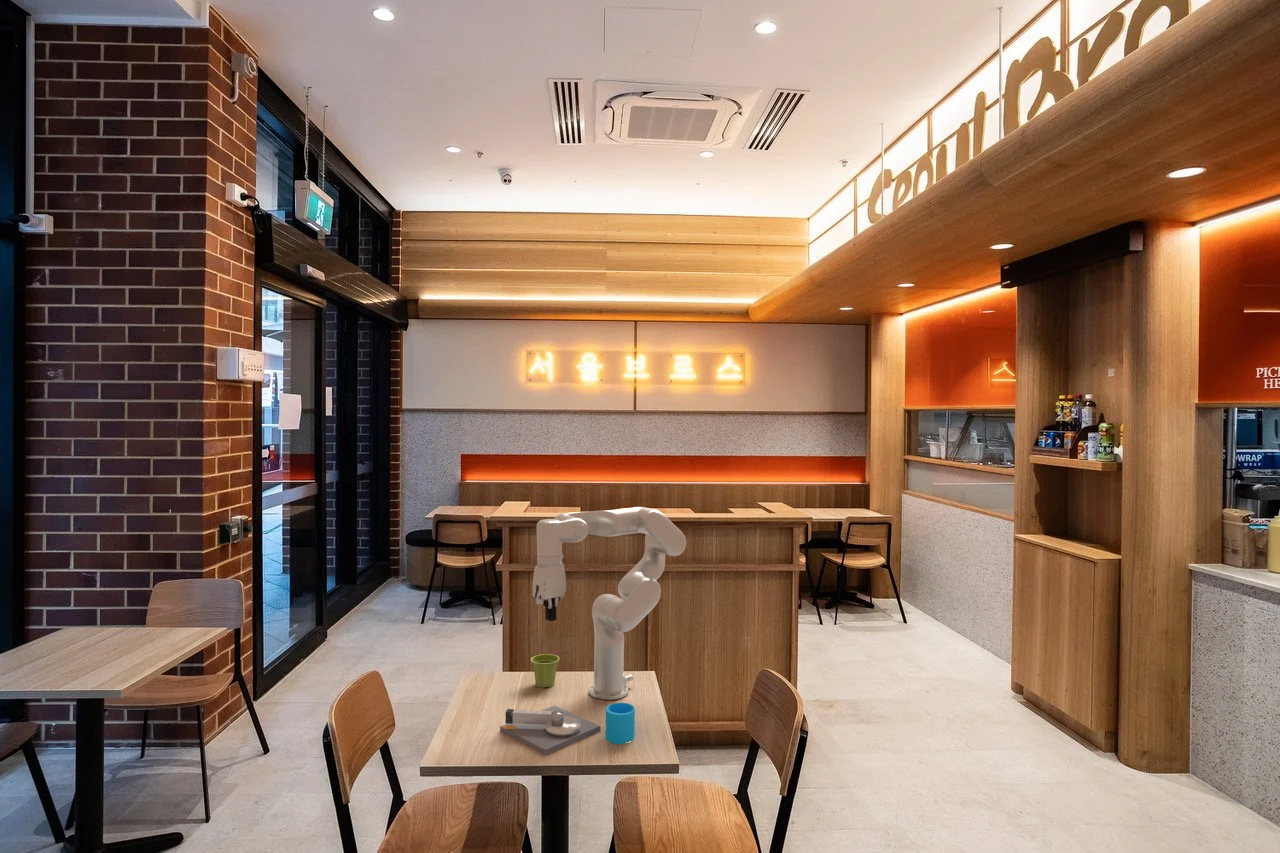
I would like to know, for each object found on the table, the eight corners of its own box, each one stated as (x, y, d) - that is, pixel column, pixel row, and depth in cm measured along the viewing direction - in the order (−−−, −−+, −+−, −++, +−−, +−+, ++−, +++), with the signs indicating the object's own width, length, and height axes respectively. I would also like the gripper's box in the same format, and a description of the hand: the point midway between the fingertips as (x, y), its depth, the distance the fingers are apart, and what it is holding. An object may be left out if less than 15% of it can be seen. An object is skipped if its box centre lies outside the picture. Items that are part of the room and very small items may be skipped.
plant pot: (524, 686, 232) (525, 660, 232) (541, 677, 240) (541, 652, 240) (548, 692, 227) (548, 665, 227) (564, 682, 236) (564, 656, 236)
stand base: (554, 710, 213) (554, 703, 213) (600, 731, 200) (600, 723, 200) (499, 731, 199) (499, 724, 199) (544, 755, 185) (544, 747, 185)
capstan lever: (510, 719, 203) (510, 703, 203) (582, 722, 202) (583, 706, 202) (501, 734, 193) (501, 718, 193) (577, 738, 192) (577, 721, 192)
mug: (634, 744, 192) (634, 715, 192) (604, 744, 192) (604, 714, 192) (635, 725, 204) (636, 697, 204) (607, 724, 204) (608, 696, 204)
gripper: (559, 554, 222) (560, 611, 223) (522, 563, 211) (523, 623, 212) (576, 557, 218) (577, 616, 218) (539, 566, 206) (540, 628, 207)
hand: (550, 619), depth 215 cm, fingers closed
